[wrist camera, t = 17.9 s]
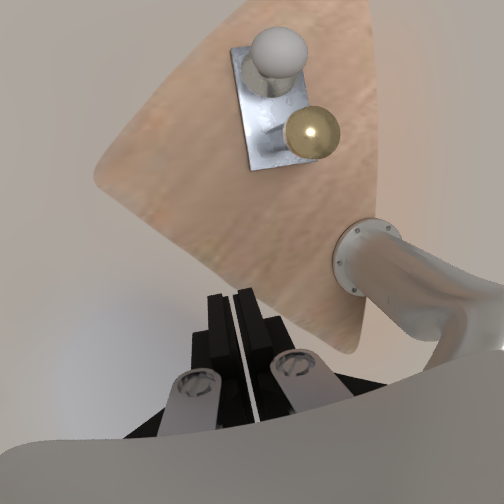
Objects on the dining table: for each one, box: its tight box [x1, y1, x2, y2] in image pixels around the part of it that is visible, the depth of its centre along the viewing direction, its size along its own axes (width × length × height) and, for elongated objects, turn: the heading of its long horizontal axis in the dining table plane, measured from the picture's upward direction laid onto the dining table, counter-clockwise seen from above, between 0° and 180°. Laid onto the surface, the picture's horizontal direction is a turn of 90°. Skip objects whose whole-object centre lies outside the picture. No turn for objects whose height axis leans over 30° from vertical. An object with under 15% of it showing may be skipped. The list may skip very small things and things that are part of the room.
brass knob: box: [283, 106, 340, 159], centre depth 30 cm, size 5×5×6 cm
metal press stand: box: [230, 46, 317, 171], centre depth 34 cm, size 17×9×12 cm, turn 9°
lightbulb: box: [250, 27, 308, 79], centre depth 31 cm, size 6×6×11 cm
